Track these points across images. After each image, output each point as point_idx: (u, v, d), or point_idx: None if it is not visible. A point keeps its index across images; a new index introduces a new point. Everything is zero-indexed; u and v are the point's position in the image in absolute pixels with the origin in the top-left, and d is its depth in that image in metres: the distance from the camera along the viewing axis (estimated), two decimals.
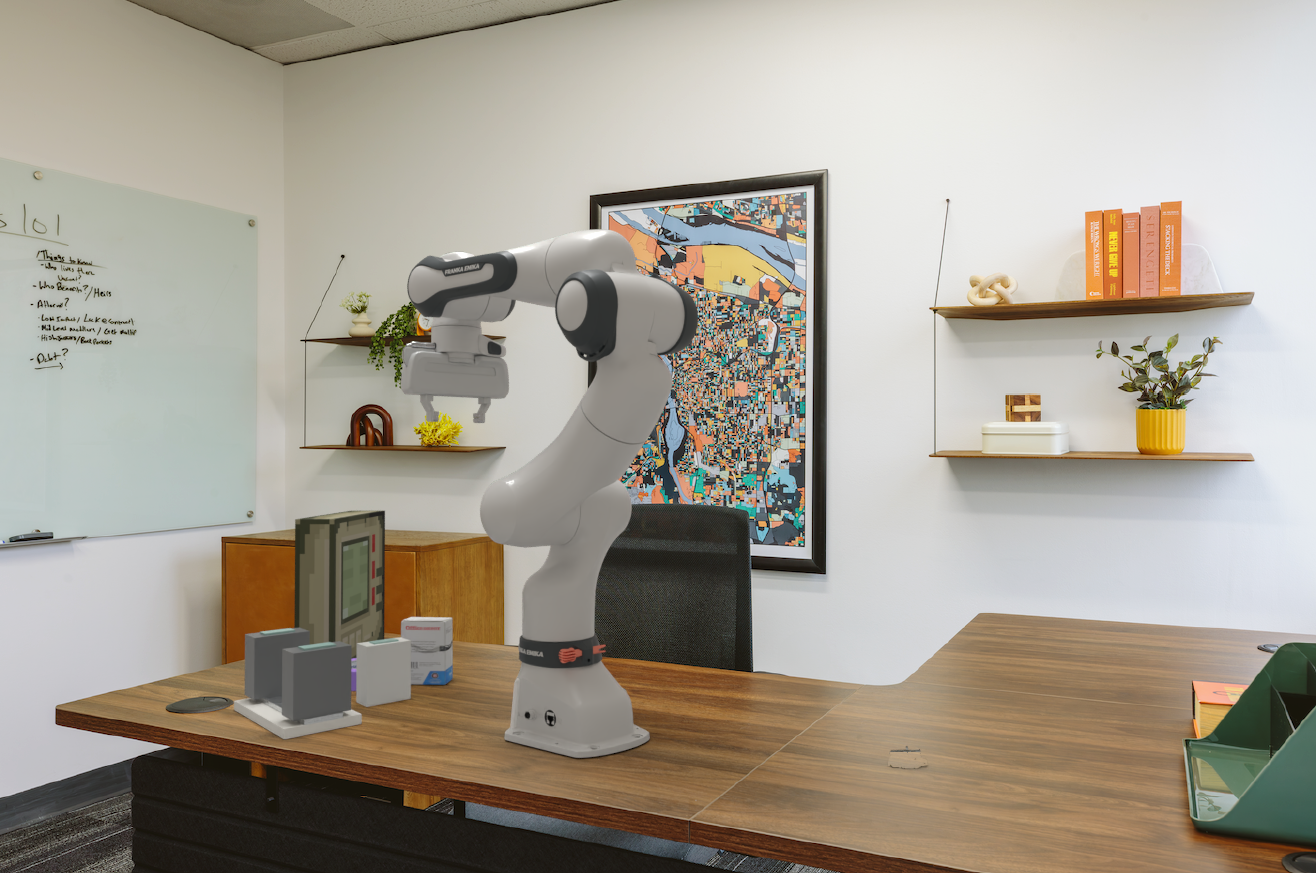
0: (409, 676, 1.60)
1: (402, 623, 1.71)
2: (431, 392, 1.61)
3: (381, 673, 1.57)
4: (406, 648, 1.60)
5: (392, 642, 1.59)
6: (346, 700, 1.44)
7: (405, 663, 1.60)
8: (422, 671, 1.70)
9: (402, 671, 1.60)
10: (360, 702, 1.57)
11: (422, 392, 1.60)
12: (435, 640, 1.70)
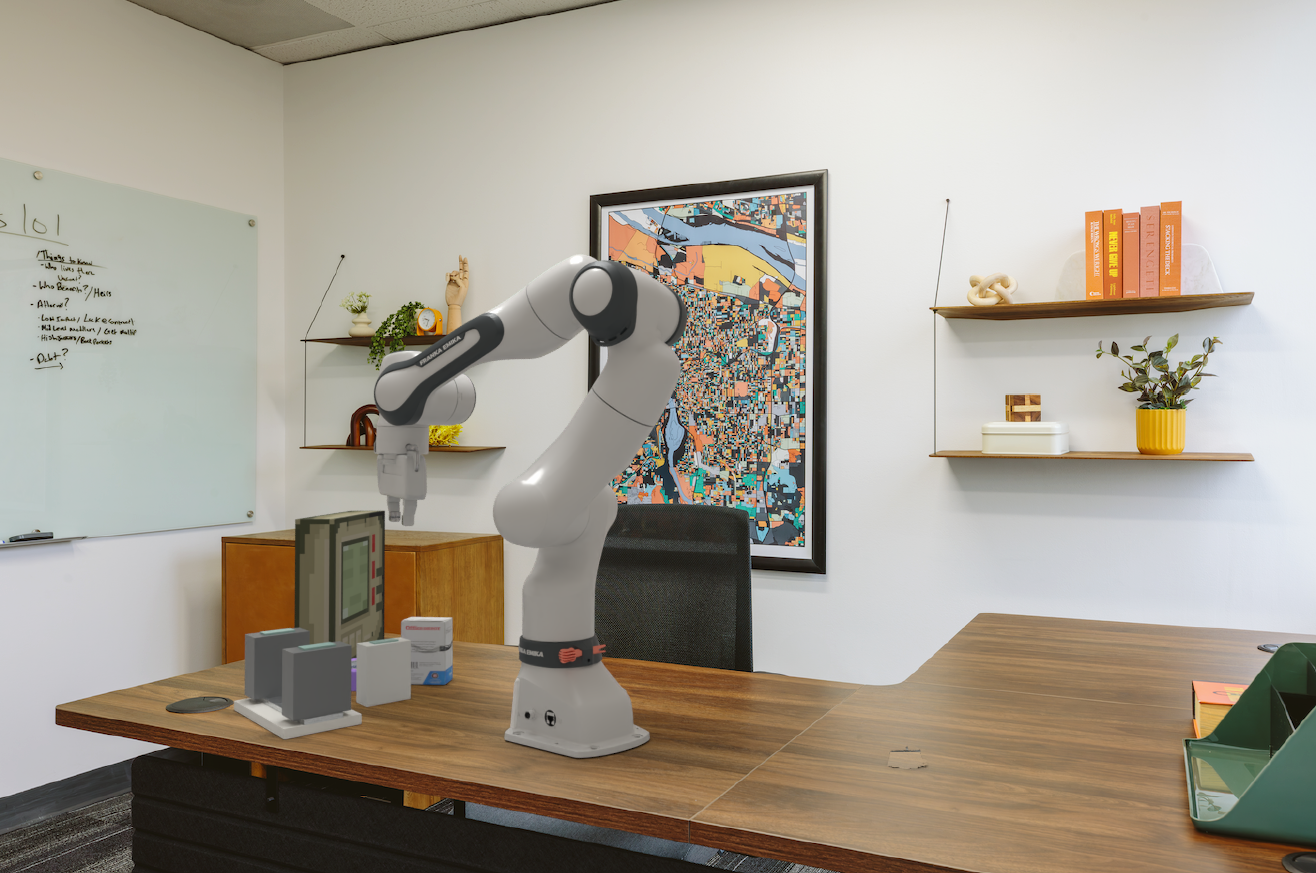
0: (409, 677, 1.60)
1: (402, 623, 1.71)
2: None
3: (381, 673, 1.57)
4: (406, 648, 1.60)
5: (392, 642, 1.59)
6: (346, 700, 1.44)
7: (405, 663, 1.60)
8: (422, 671, 1.70)
9: (402, 671, 1.60)
10: (360, 702, 1.57)
11: None
12: (435, 640, 1.70)
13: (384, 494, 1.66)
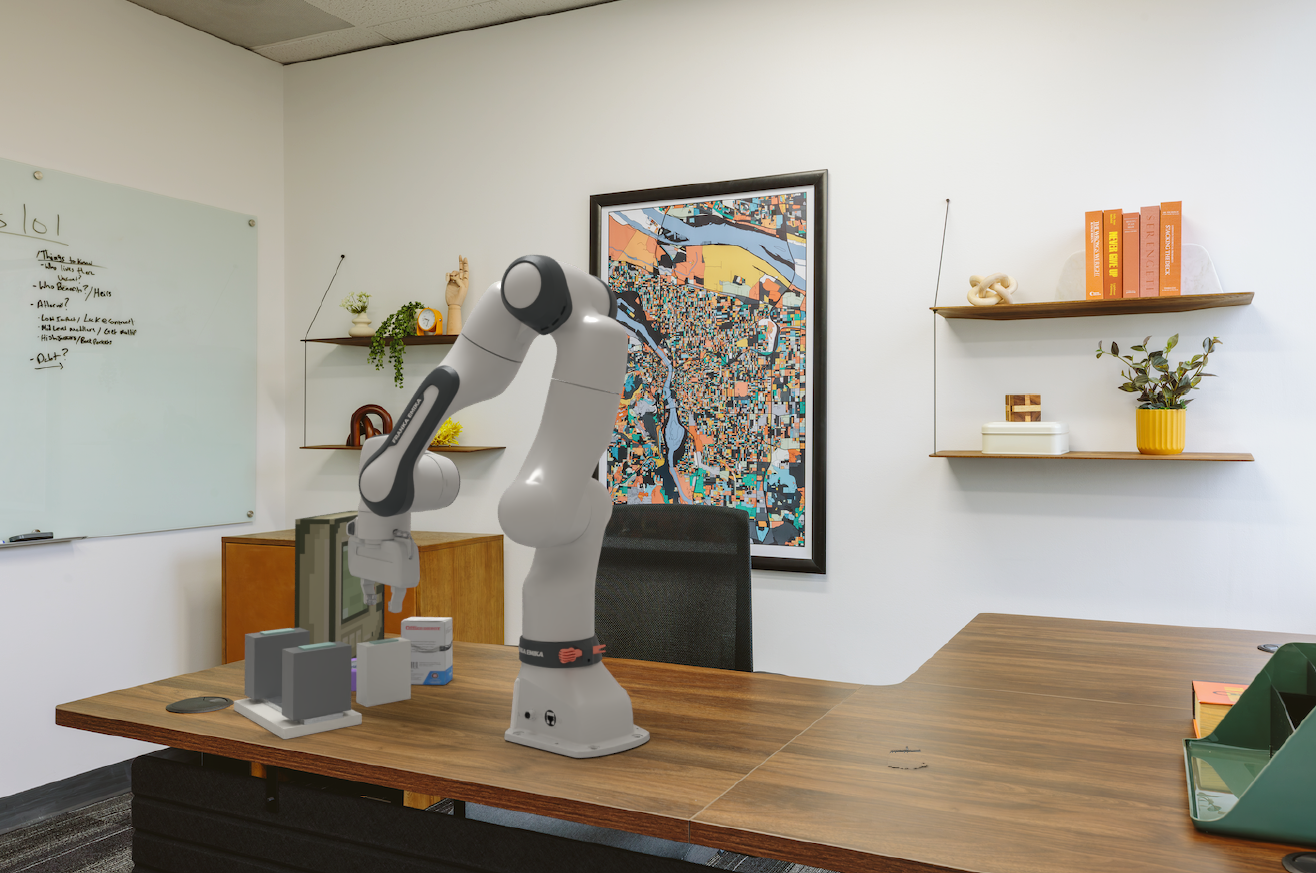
0: (409, 677, 1.60)
1: (402, 623, 1.71)
2: None
3: (381, 673, 1.57)
4: (406, 648, 1.60)
5: (392, 642, 1.59)
6: (346, 700, 1.44)
7: (405, 663, 1.60)
8: (422, 671, 1.70)
9: (402, 671, 1.60)
10: (360, 702, 1.57)
11: None
12: (435, 640, 1.70)
13: (359, 577, 1.63)
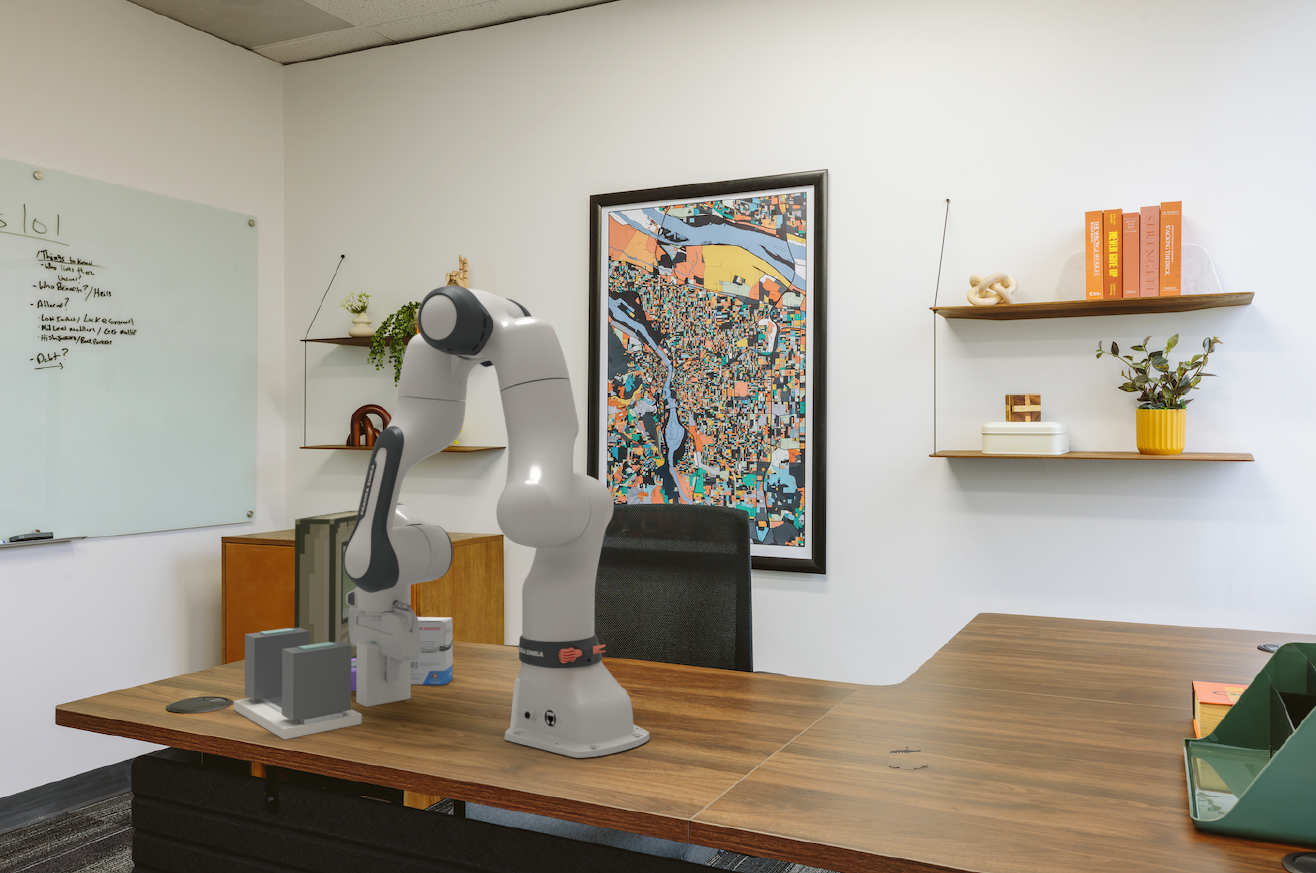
0: (409, 676, 1.60)
1: None
2: None
3: (381, 673, 1.57)
4: None
5: None
6: (346, 700, 1.44)
7: (405, 663, 1.60)
8: (422, 671, 1.70)
9: (402, 671, 1.60)
10: (360, 702, 1.57)
11: None
12: (435, 640, 1.70)
13: None
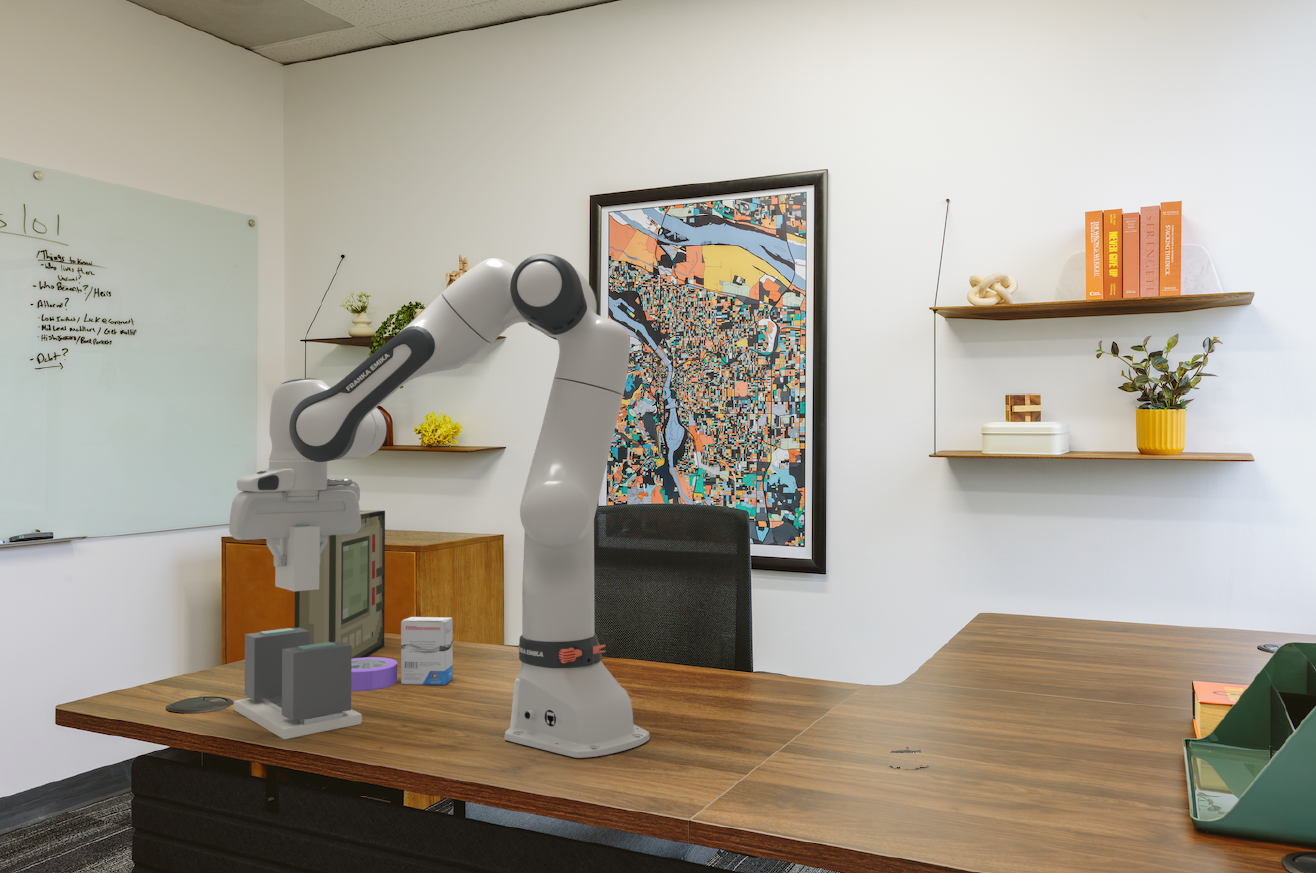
0: None
1: (402, 623, 1.71)
2: None
3: None
4: None
5: None
6: (346, 700, 1.44)
7: None
8: (422, 671, 1.70)
9: None
10: (304, 588, 1.47)
11: None
12: (435, 640, 1.70)
13: (265, 537, 1.45)
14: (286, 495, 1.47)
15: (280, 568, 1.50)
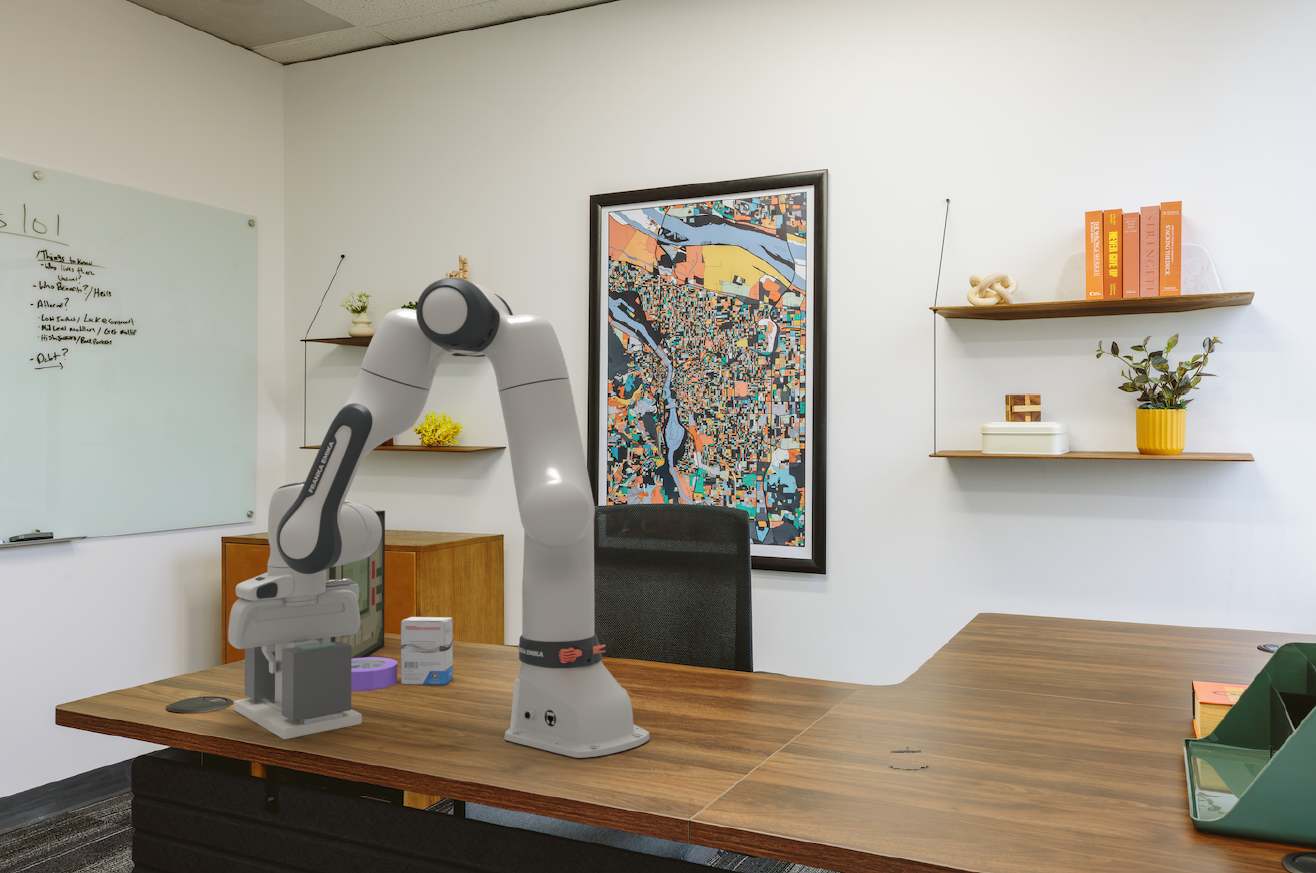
0: None
1: (402, 623, 1.71)
2: None
3: None
4: None
5: None
6: (346, 700, 1.44)
7: None
8: (422, 671, 1.70)
9: None
10: None
11: None
12: (435, 640, 1.70)
13: (264, 645, 1.45)
14: (285, 601, 1.47)
15: (280, 683, 1.49)
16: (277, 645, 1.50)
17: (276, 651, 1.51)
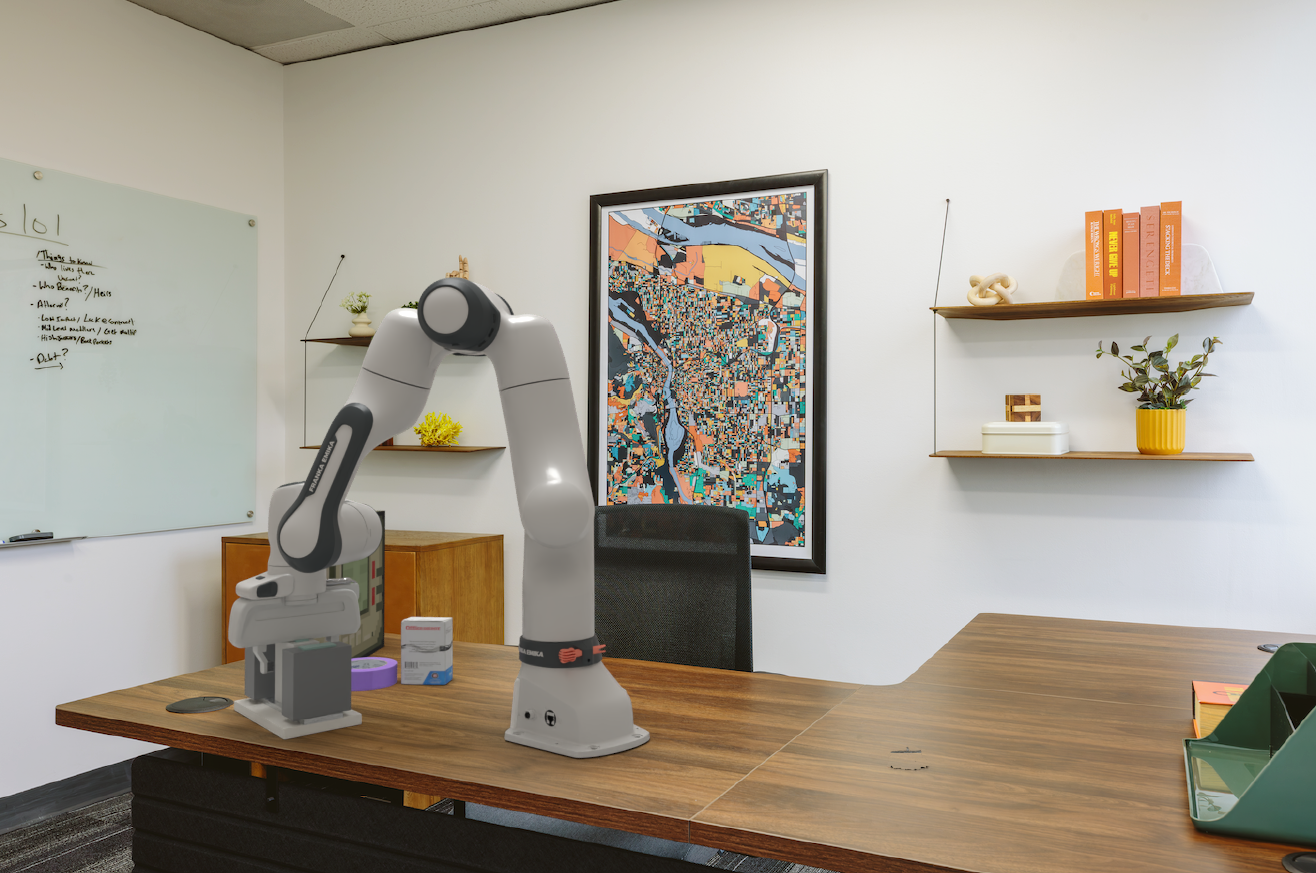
0: None
1: (402, 623, 1.71)
2: None
3: None
4: None
5: None
6: (346, 700, 1.44)
7: None
8: (422, 671, 1.70)
9: None
10: None
11: None
12: (435, 640, 1.70)
13: (265, 644, 1.45)
14: (285, 600, 1.47)
15: (280, 683, 1.49)
16: (277, 645, 1.50)
17: (276, 651, 1.51)
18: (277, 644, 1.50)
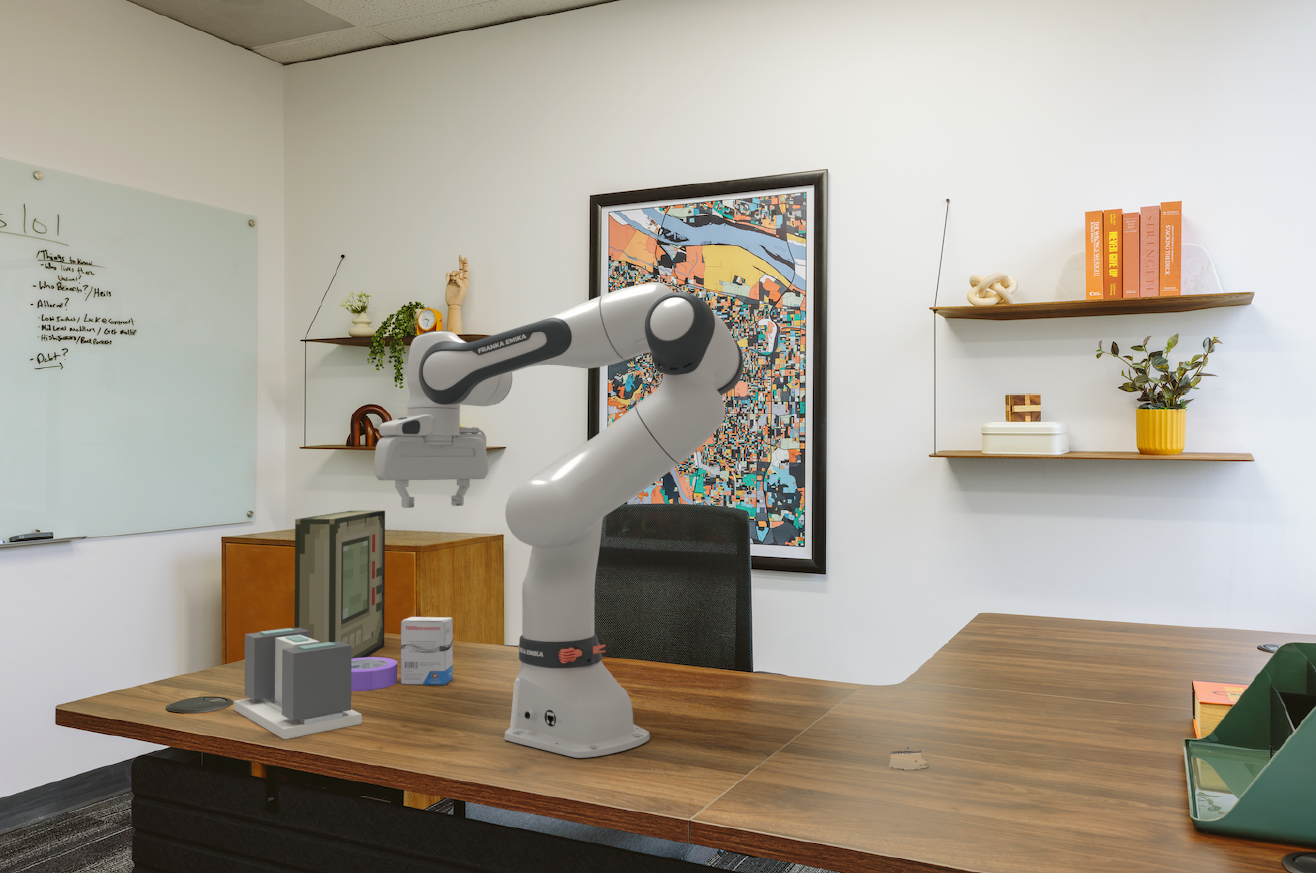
0: None
1: (402, 623, 1.71)
2: None
3: None
4: None
5: (304, 637, 1.51)
6: (346, 700, 1.44)
7: None
8: (422, 671, 1.70)
9: None
10: None
11: None
12: (435, 640, 1.70)
13: (407, 479, 1.55)
14: (425, 440, 1.57)
15: (280, 683, 1.49)
16: (277, 645, 1.50)
17: (276, 651, 1.51)
18: (277, 644, 1.50)
